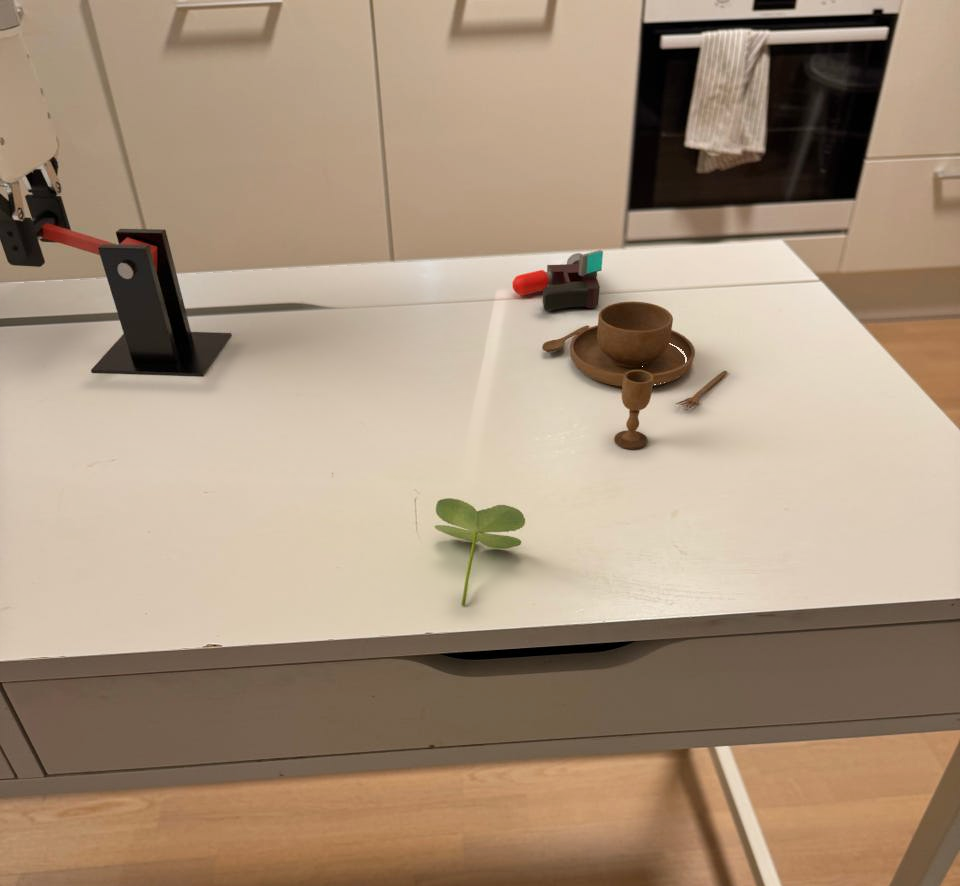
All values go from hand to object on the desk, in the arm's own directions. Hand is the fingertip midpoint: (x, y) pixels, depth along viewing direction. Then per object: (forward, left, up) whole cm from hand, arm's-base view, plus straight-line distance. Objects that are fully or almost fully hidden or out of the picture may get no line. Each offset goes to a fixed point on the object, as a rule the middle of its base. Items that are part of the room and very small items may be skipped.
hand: (41, 250), depth 80 cm
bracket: (+9, 0, -11) cm, 14 cm away
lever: (+5, 0, -1) cm, 5 cm away
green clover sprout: (+42, -30, -11) cm, 53 cm away
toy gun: (+47, +20, -11) cm, 52 cm away
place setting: (+53, -1, -11) cm, 54 cm away
